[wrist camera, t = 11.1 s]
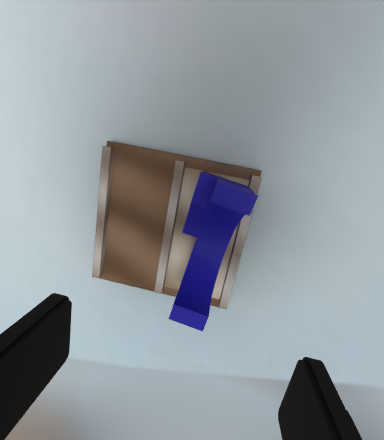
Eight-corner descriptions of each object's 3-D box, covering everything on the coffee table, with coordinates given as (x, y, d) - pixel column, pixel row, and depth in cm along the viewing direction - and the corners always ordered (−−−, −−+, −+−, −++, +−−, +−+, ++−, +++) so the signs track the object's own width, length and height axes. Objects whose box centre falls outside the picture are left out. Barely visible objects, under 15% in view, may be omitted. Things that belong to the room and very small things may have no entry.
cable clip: (203, 171, 22) (196, 175, 16) (248, 186, 22) (257, 195, 16) (167, 278, 26) (152, 312, 20) (207, 292, 25) (202, 331, 20)
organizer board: (111, 141, 24) (103, 140, 22) (259, 170, 23) (262, 171, 21) (99, 273, 28) (91, 280, 26) (225, 303, 27) (225, 313, 25)
